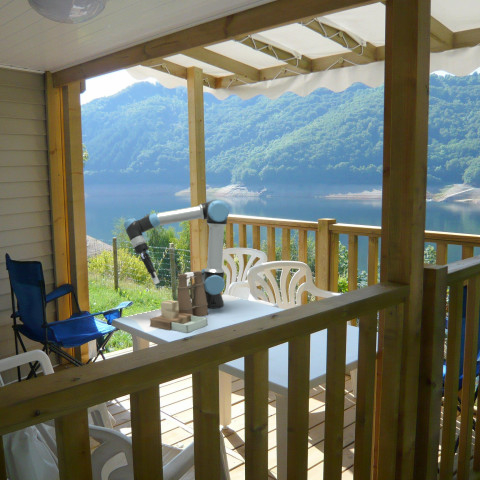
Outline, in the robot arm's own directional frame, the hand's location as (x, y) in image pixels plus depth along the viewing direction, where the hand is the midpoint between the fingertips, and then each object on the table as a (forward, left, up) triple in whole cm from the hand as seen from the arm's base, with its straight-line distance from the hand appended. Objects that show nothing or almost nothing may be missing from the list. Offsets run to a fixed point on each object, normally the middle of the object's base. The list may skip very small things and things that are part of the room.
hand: (157, 283), depth 278 cm
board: (+3, +13, -20) cm, 24 cm away
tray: (+3, +26, -20) cm, 33 cm away
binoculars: (-15, +12, -21) cm, 28 cm away
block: (+3, +12, -16) cm, 20 cm away
